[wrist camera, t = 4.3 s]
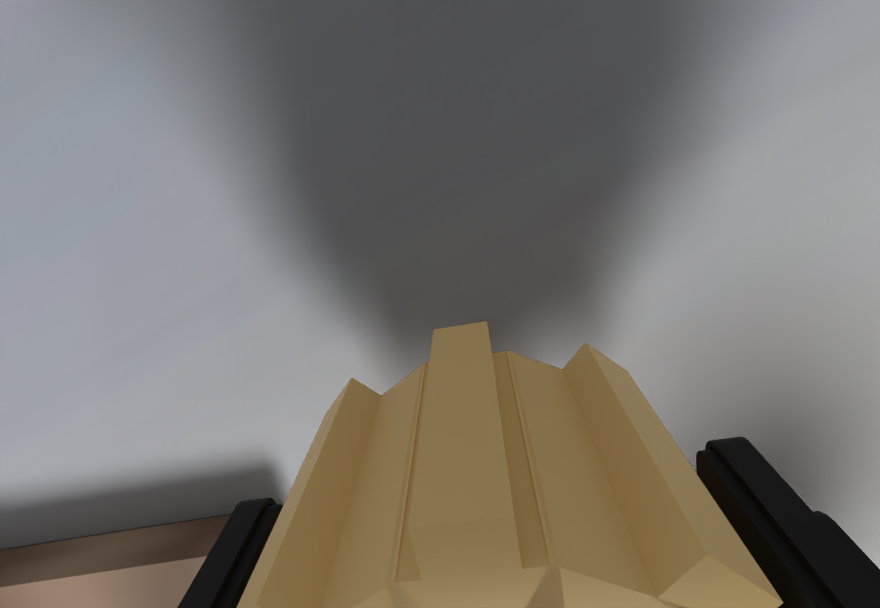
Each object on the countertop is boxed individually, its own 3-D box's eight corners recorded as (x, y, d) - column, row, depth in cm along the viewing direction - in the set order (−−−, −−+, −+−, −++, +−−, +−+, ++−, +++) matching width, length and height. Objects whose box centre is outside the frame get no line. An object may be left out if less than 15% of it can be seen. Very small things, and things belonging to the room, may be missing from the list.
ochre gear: (663, 293, 9) (874, 471, 5) (677, 602, 12) (827, 933, 7) (270, 354, 10) (99, 565, 5) (358, 635, 12) (294, 956, 8)
